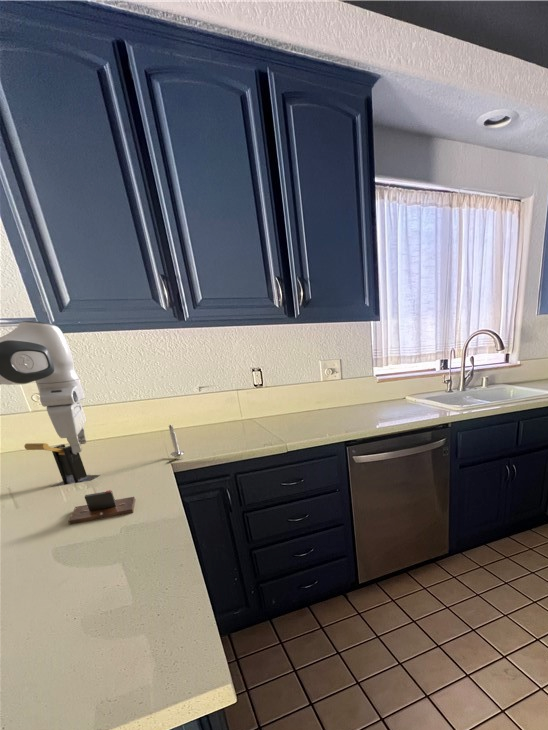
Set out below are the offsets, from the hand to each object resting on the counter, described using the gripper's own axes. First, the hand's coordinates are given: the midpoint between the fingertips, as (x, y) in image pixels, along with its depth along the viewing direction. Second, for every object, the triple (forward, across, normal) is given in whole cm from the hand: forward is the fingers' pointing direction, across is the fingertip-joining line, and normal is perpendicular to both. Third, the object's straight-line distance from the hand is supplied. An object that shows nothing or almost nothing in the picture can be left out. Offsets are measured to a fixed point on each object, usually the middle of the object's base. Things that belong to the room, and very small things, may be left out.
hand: (80, 447), depth 111 cm
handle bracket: (+18, -30, -9) cm, 36 cm away
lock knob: (+15, +7, +2) cm, 17 cm away
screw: (+18, -42, +22) cm, 51 cm away
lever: (+6, -26, -12) cm, 29 cm away
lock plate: (+18, +7, +2) cm, 19 cm away
